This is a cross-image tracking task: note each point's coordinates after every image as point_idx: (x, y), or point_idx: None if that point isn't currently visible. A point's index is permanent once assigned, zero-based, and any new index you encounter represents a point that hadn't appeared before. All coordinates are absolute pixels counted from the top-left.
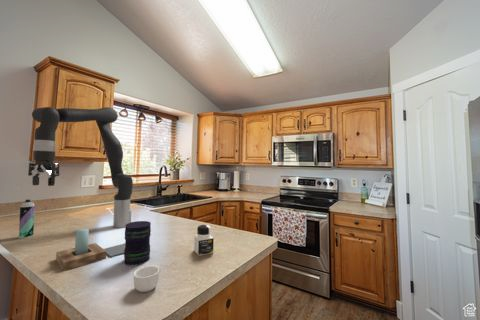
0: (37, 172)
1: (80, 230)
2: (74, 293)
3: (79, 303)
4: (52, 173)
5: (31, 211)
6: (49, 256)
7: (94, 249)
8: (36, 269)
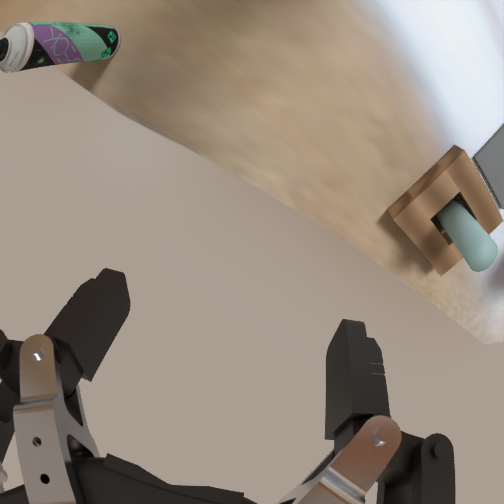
0: (88, 445)
1: (480, 260)
2: (469, 319)
3: (477, 333)
4: (389, 492)
5: (52, 39)
6: (353, 187)
7: (478, 206)
8: (376, 258)
